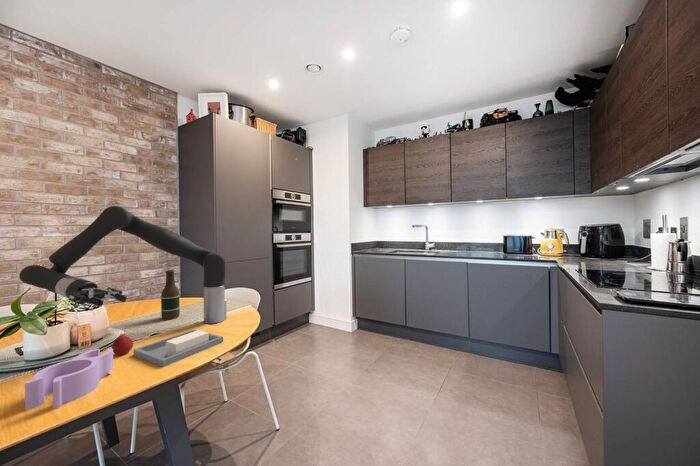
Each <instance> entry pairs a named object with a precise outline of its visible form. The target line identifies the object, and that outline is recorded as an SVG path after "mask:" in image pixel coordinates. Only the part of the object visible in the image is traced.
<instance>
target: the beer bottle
mask: <svg viewBox="0 0 700 466" xmlns="http://www.w3.org/2000/svg"><path fill="white" fill-rule="evenodd" d="M165 273H166V275H165V287H164V288H163V289H162V292H161V296H160V304H161V306H160V308H161V309H160V311H161V313H160V314H161V319H162V320H163V321H169V320H170V321H171V320H174V319H178V318H179V317H180V315H181V314H180V312H181V311H180V309H181V308H180V305H181V304H180V302H181V301H180V290H179V289H178V287H177V286H176V283H175V270H173V269H168V270H166V271H165Z"/></svg>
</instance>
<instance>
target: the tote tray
mask: <svg viewBox="0 0 700 466" xmlns="http://www.w3.org/2000/svg"><path fill="white" fill-rule="evenodd" d="M197 330H198V329H196V328H195V329H190V330H188V331H184V332H181V333H179V334H176V335H172V336H170V337H166V338H162V339H161V340H158V341H155V342H152V343H149V344H146V345H142V346H139V347H137V348H135V349H134V348H132V349H133V356H134V357H136V358H139V359H142V360H144V361H147V362H150V363H152V364H155V365H157V366H159V367H163V368H164V367H168V366H169V365H172V364H174V363H177V362H179V361H181V360H184V359H186V358H188V357H191V356H194V355H196V354H198V353H200V352H202V351H205V350H208V349H210V348H212V347H215V346H217V345H219V344H222V343H224V336H223V335H222V336H221V335H217V334H213V333H211V332H208V333H209V341H208V342H205V343H203V344H200V345H198V346H195V347H193V348H190V349H188V350H185V351H182V352H180V353H177V354H175V355H172V356H170V357H169V356H166V341H168V340H171V339H174V338H177V337H180V336H183V335H186V334H188V333H191V332H194V331H197Z"/></svg>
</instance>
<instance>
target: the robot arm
mask: <svg viewBox="0 0 700 466" xmlns="http://www.w3.org/2000/svg"><path fill="white" fill-rule="evenodd" d="M116 230H118V231H121V232H125V233H128V234H131V235H133V236H135V237H137V238H140V239H141V240H142V241H144V242H146V243H148V244H149V245H151V246H153V247H155V249H158V250H161V251H163V252H165V253H168V254H171V255H174V256H177V257H179V258H184V259H187V260H189V261H193V262H194V263H196V264H197V265H200V266H202V267H203V323H205V324H207V325H208V324H219V323H222V322H223V321H225V320H227V315H228V314H227V313H228V312H227V311H228V310H227V299H226V297H225V281H226V259H225V257H224V256H223V255H222V254H221V253H218V252H215V251H212V250H208V249H206V248H205V247H201V246H199V245H197V244H195V243H194V242H192V241H191V240H189V239H188V238H186V237H184V236H182V235H181V234H178V233H176V232H174V231H172V230H169V229H167V228H165V227H162V226H159V225H156V224H154V223H150V222H147V221H146V220H143V219H141V218H140V217H138V216H136V215H134V214H133V213H132V212H130V211H128V210H127V209H126V208H124V207H122V206H119V205H112V206H109V207H106V208H104V209H103V210H102V212H101V213H100V214H99V215H98V216H97V217H96V218H95V220H94V221H93V222H91V223H90V224H89V225H88V226H86V228H85V229H83V231H81V232H79V234H77V235H76V236H74V237H73V238H72V239H70V240H69V241H68V242H66V243H65V244H63V245H62V246H60V247H59V248H58V249H57V250H55V251H54V252H53V253H52V254H50V255H49V257H48V260H49V262H50V263H51V264H53V265H52V267H51V268H49V267H48V268H47V267H45V266H43V265H40V264H32V265H28V266H26V267H24V268H22V269H21V271H20V272H19V273H18V274H19V279H20V281H21V282H22V283H25V284H26V285H27V284H28V285H29V286H33V287H36V288H39V289H43V290H47V291H48V292H51V293H54V294H57V295H59V296H61V297H64V298H66V299H68V301H69V302H73V303H75V304H78V305H82V306H83V305H85V304H86V305H92V306H93V305H94V306H97V307H103V305H104V300H105V301H109V300H111V299H112V300H116V301H119V302H122V303H125V302H126V301H127V295H126V294H123V290H119V289H116V288H112V287H107V288H106V289H105V288H100V287H98V285H97V284H96V282H93V281H91V280H87V279H85V278H82V277H77V276H72V275H70V274H67V272H68V270H69V269H70V268H71V266H73V265H74V264H76V263H77V262H78V261H79V260H80V259H81V258H83V257H84V256H85V255H86V254H88V252H89V251H91V250H92V249H93V248H94V247H95V246H96V245H97V244H98V243H99V242H100V241H101V240H102V239H104V238H105V237H106V236H108V235H109V234H111V233H113V232H114V231H116ZM55 284H56V285H55ZM106 296H107V297H106Z"/></svg>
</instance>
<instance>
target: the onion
mask: <svg viewBox="0 0 700 466" xmlns="http://www.w3.org/2000/svg"><path fill="white" fill-rule="evenodd" d="M133 347H134V341H133V339H132V338H131V337H130V336H129V335H126V333H124V332H123V333H121V334H120V336H118V337H117V338H116V339H115V340H114V341H113V343H112V345H111V348H112V349H113V355H117V356H123V355H127V354H128V353H129V352H130V351H131V350H132V349H133Z"/></svg>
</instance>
